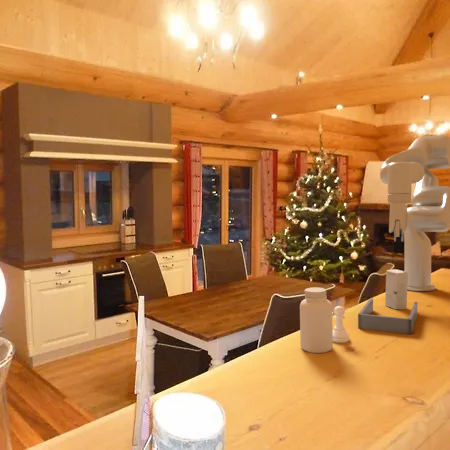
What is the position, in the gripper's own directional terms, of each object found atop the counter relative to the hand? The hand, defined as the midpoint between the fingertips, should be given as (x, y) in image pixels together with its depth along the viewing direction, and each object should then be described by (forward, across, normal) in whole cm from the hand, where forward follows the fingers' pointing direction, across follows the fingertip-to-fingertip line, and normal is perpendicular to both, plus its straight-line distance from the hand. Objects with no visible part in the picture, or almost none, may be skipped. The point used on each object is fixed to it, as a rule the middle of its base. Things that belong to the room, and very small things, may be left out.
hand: (399, 252), depth 154 cm
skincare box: (+17, +7, 0) cm, 19 cm away
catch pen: (+17, +24, 0) cm, 29 cm away
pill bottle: (+17, +54, -13) cm, 58 cm away
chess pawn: (+17, +46, -10) cm, 50 cm away
